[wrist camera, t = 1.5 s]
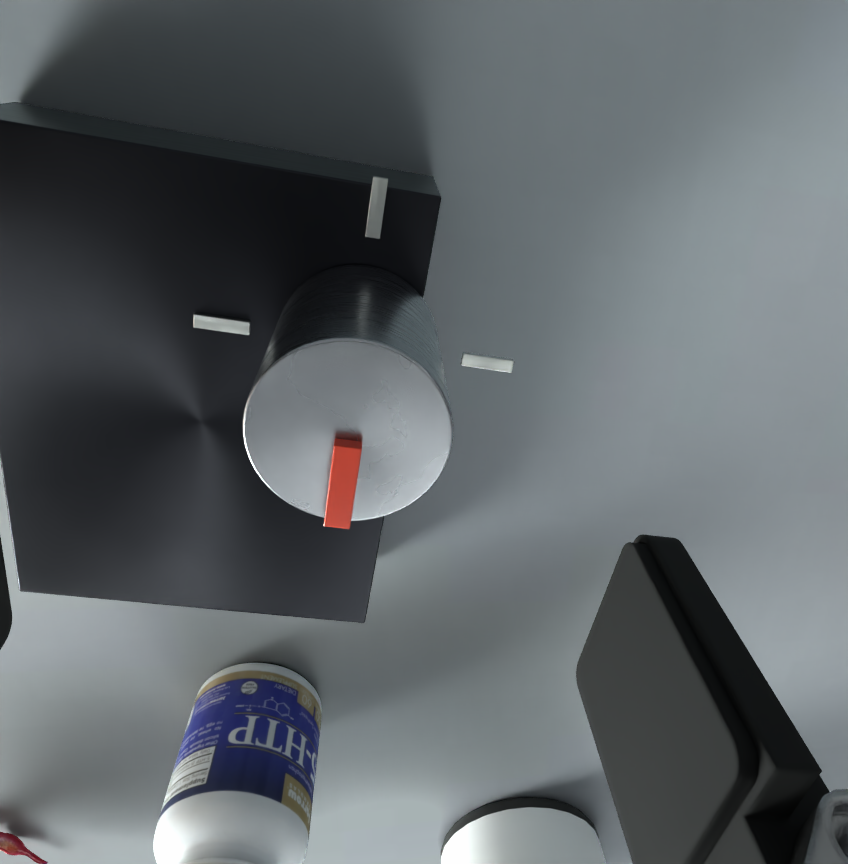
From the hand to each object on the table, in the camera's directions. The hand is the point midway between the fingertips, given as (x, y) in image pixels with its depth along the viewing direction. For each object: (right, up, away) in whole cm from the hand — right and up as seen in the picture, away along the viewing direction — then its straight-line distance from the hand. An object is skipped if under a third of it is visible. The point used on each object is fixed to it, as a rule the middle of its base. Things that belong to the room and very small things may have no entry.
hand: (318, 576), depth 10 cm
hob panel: (-3, +4, +11) cm, 12 cm away
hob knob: (0, +5, +8) cm, 9 cm away
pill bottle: (-5, -9, +19) cm, 22 cm away
